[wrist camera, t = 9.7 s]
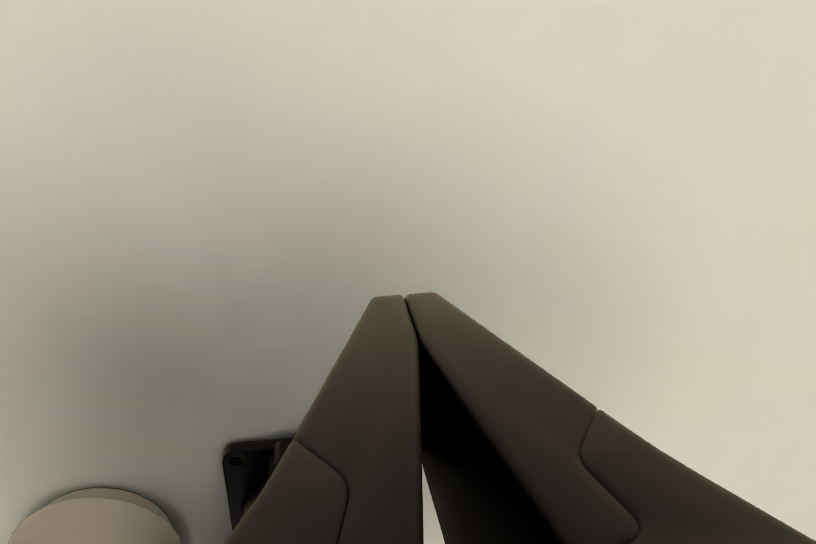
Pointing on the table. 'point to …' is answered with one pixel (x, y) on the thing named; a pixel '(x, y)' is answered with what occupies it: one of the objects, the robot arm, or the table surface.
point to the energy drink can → (97, 520)
